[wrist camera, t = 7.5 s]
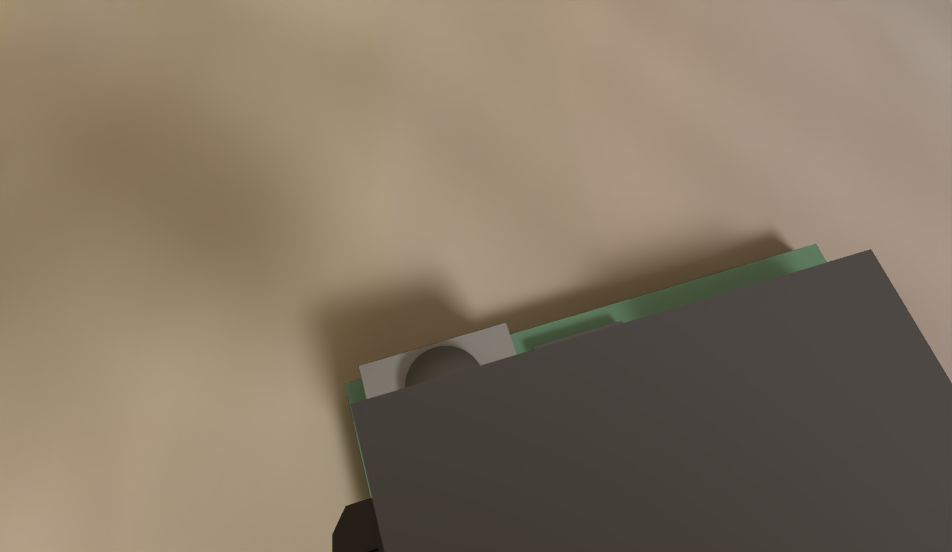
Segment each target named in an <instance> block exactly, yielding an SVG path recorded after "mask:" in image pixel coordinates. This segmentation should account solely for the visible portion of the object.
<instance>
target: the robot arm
mask: <svg viewBox="0 0 952 552" xmlns="http://www.w3.org/2000/svg"><path fill="white" fill-rule="evenodd" d="M332 552H384V548H383V543H382V539H381V535H380V530H379V526H378V522H377V517H376V513H375V508H374V504H373V500H372V498H370V499H367V500H364V501H360V502H357V503H354V504H351V505H348V506H346V507H345V509H344V511H343V513H342V515H341V517H340V519H339V521H338V524H337V526H336V528H335V530H334V532H333V534H332Z"/></svg>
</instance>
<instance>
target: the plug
mask: <svg viewBox="0 0 952 552" xmlns="http://www.w3.org/2000/svg"><path fill="white" fill-rule="evenodd" d="M351 408H352V413H353V417H354V421H355V426H356V430H357V434H358V439H359V443H360V447H361V452H362V456H363V461H364V465H365V469H366V474H367V478H368V482H369V487H370V491H371V495H372V500H373V504H374V508H375V513H376V517H377V522H378V526H379V530H380V535H381V539H382V543H383V548H384V552H952V383H951V381H950V380H949V378H948V376H947V375H946V373H945V371H944V370H943V368H942V366H941V365H940V363H939V361H938V360H937V358H936V356H935V355H934V353H933V351H932V350H931V348H930V346H929V345H928V343H927V341H926V340H925V338H924V336H923V335H922V333H921V331H920V330H919V328H918V326H917V325H916V323H915V322H914V320H913V318H912V317H911V315H910V313H909V312H908V310H907V308H906V307H905V305H904V303H903V302H902V300H901V298H900V297H899V295H898V293H897V292H896V290H895V288H894V287H893V285H892V283H891V282H890V280H889V278H888V277H887V275H886V273H885V272H884V270H883V268H882V267H881V265H880V263H879V262H878V260H877V258H876V257H875V255H874V253H873V252H872V250H871V249H870V250H867V251H864V252H860V253H857V254H854V255H850V256H847V257H844V258H840V259H837V260H833V261H830V262H827V263H823V264H820V265H817V266H813V267H810V268H806V269H803V270H800V271H796V272H793V273H790V274H786V275H783V276H780V277H776V278H773V279H769V280H766V281H763V282H759V283H756V284H753V285H749V286H746V287H743V288H739V289H736V290H732V291H729V292H726V293H722V294H719V295H716V296H712V297H709V298H706V299H702V300H699V301H695V302H692V303H689V304H685V305H682V306H679V307H675V308H672V309H669V310H665V311H662V312H658V313H655V314H652V315H648V316H645V317H642V318H638V319H635V320H632V321H628V322H625V323H621V324H618V325H615V326H611V327H608V328H605V329H601V330H598V331H594V332H591V333H588V334H584V335H581V336H578V337H574V338H571V339H568V340H564V341H561V342H557V343H554V344H551V345H547V346H544V347H541V348H537V349H534V350H531V351H527V352H524V353H520V354H517V355H514V356H510V357H507V358H504V359H500V360H497V361H494V362H490V363H487V364H483V365H480V366H477V367H473V368H470V369H467V370H463V371H460V372H457V373H453V374H450V375H446V376H443V377H440V378H436V379H433V380H430V381H426V382H423V383H419V384H416V385H413V386H409V387H406V388H403V389H399V390H396V391H393V392H389V393H386V394H382V395H379V396H376V397H372V398H369V399H366V400H362V401H359V402H356V403H352V404H351Z"/></svg>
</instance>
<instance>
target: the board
mask: <svg viewBox="0 0 952 552" xmlns="http://www.w3.org/2000/svg"><path fill="white" fill-rule="evenodd" d="M823 263H827V262H826V260H825V259H824V257H823V255H822V253H821V252H820V250H819V248H818V246H817V244H813V245H810V246H807V247H803V248H800V249H797V250H793V251H790V252H787V253H783V254H780V255H776V256H773V257H770V258H766V259H763V260H760V261H756V262H753V263H749V264H746V265H743V266H739V267H736V268H733V269H729V270H726V271H722V272H719V273H716V274H712V275H709V276H706V277H702V278H699V279H695V280H692V281H689V282H685V283H682V284H679V285H675V286H672V287H668V288H665V289H662V290H658V291H655V292H652V293H648V294H645V295H642V296H638V297H635V298H631V299H628V300H625V301H621V302H618V303H615V304H611V305H608V306H604V307H601V308H598V309H594V310H591V311H588V312H584V313H581V314H577V315H574V316H571V317H567V318H564V319H561V320H557V321H554V322H550V323H547V324H544V325H540V326H537V327H534V328H530V329H527V330H524V331H520V332H517V333H513V334H510V333H509V330H508V328H507V325H506V323H503V324H500V325H496V326H493V327H489V328H486V329H483V330H479V331H476V332H472V333H469V334H466V335H462V336H459V337H455V338H452V339H449V340H445V341H442V342H438V343H435V344H432V345H428V346H425V347H421V348H418V349H415V350H411V351H408V352H404V353H401V354H398V355H394V356H391V357H387V358H384V359H381V360H377V361H374V362H370V363H367V364H364V365H360V366H359V369H360V373H361V378H362V379H358V380H355V381H352V382H348V383H345V388H346V393H347V397H348V401H349V406H350V410H351V414H352V419H353V423H354V427H355V432H356V436H357V440H358V445H359V449H360V454H361V458H362V462H363V467H364V471H365V475H366V480H367V484H368V488H369V493H370V497H371V498H372V495H371V491H370V487H369V482H368V478H367V474H366V469H365V465H364V461H363V456H362V452H361V447H360V443H359V439H358V434H357V430H356V426H355V421H354V417H353V413H352V408H351V404H352V403H356V402H359V401H362V400H366V399H369V398H372V397H376V396H379V395H382V394H386V393H389V392H393V391H396V390H399V389H403V388H406V387H409V386H413V385H416V384H419V383H423V382H426V381H430V380H433V379H436V378H440V377H443V376H446V375H450V374H453V373H457V372H460V371H463V370H467V369H470V368H473V367H477V366H480V365H483V364H487V363H490V362H494V361H497V360H500V359H504V358H507V357H510V356H514V355H517V354H520V353H524V352H527V351H531V350H534V349H537V348H541V347H544V346H547V345H551V344H554V343H557V342H561V341H564V340H568V339H571V338H574V337H578V336H581V335H584V334H588V333H591V332H594V331H598V330H601V329H605V328H608V327H611V326H615V325H618V324H621V323H625V322H628V321H632V320H635V319H638V318H642V317H645V316H648V315H652V314H655V313H658V312H662V311H665V310H669V309H672V308H675V307H679V306H682V305H685V304H689V303H692V302H695V301H699V300H702V299H706V298H709V297H712V296H716V295H719V294H722V293H726V292H729V291H732V290H736V289H739V288H743V287H746V286H749V285H753V284H756V283H759V282H763V281H766V280H769V279H773V278H776V277H780V276H783V275H786V274H790V273H793V272H796V271H800V270H803V269H806V268H810V267H813V266H817V265H820V264H823Z"/></svg>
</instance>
